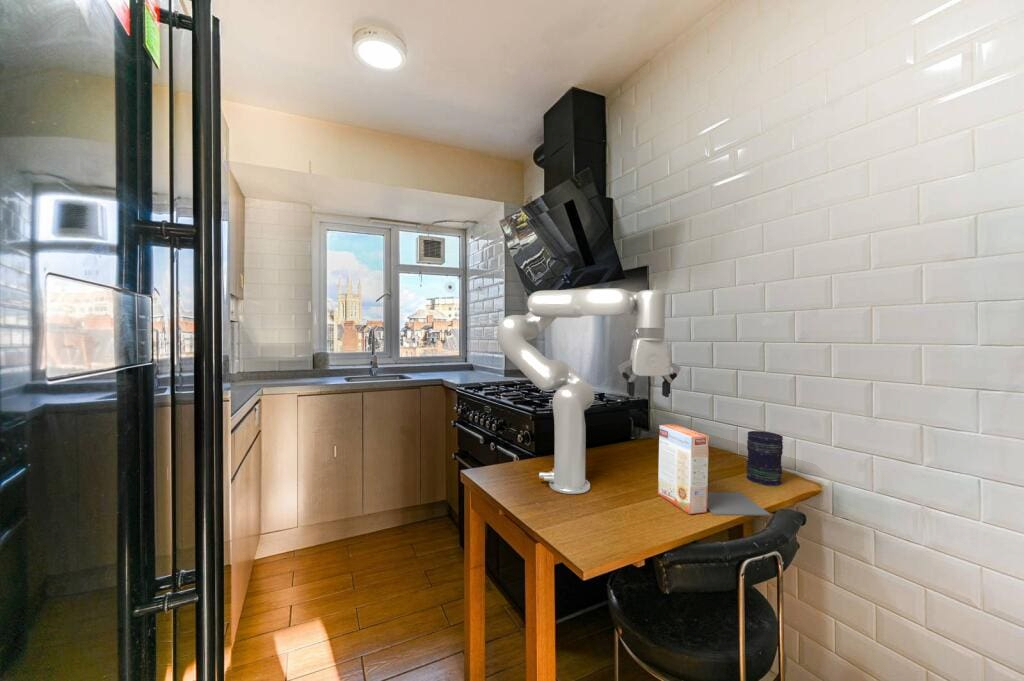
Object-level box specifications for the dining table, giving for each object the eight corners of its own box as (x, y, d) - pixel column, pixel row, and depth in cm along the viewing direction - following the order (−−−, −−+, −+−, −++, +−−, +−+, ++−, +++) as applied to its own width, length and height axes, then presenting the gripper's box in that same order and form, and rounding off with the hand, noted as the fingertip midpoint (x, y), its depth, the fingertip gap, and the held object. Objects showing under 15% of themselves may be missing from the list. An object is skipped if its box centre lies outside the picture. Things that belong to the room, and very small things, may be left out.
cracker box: (708, 513, 107) (710, 435, 106) (689, 515, 105) (690, 436, 105) (674, 492, 120) (676, 423, 120) (657, 494, 119) (658, 424, 118)
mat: (713, 514, 106) (713, 513, 106) (690, 493, 120) (690, 491, 120) (770, 515, 106) (770, 514, 106) (740, 493, 120) (740, 492, 120)
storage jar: (743, 473, 137) (744, 429, 136) (776, 477, 134) (778, 432, 133) (749, 483, 127) (751, 437, 127) (786, 488, 124) (787, 440, 124)
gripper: (622, 334, 108) (621, 398, 108) (687, 335, 108) (685, 399, 109) (615, 334, 115) (613, 393, 116) (675, 335, 115) (673, 394, 116)
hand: (648, 396), depth 112 cm, fingers open, 9 cm apart
